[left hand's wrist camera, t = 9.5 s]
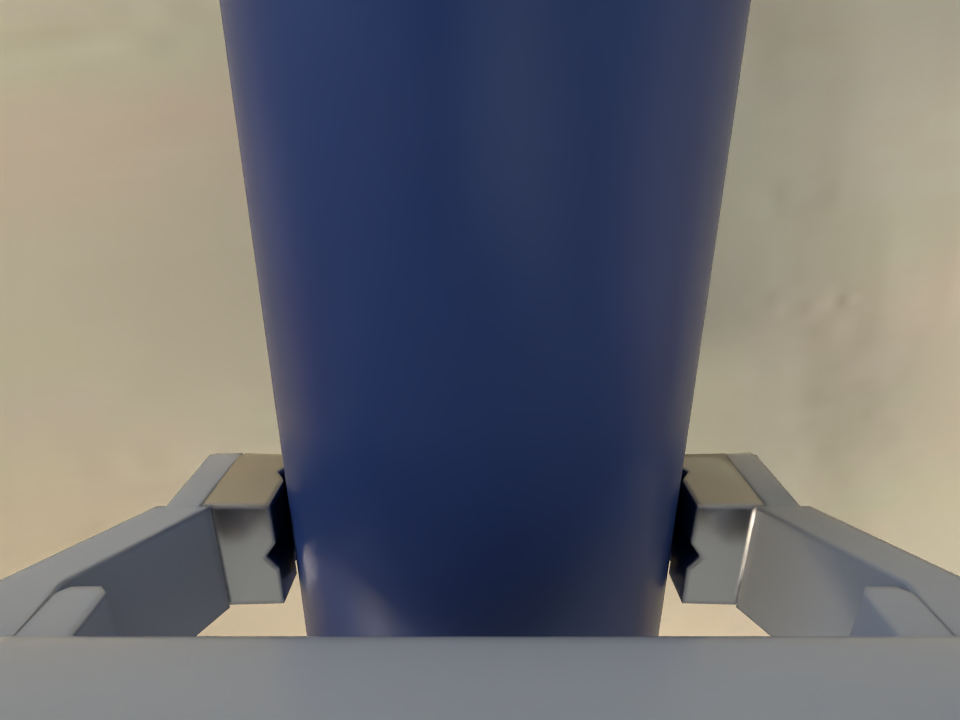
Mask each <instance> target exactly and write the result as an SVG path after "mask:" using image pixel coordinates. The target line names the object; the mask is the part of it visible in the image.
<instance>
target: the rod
mask: <svg viewBox="0 0 960 720" xmlns="http://www.w3.org/2000/svg"><path fill="white" fill-rule="evenodd" d="M219 1H220V8H221V16H222V23H223V30H224V37H225V45H226V52H227V59H228V66H229V74H230V81H231V88H232V95H233V103H234V110H235V117H236V124H237V131H238V139H239V146H240V153H241V160H242V168H243V175H244V182H245V189H246V197H247V204H248V211H249V218H250V226H251V233H252V240H253V247H254V255H255V262H256V269H257V276H258V284H259V291H260V298H261V305H262V312H263V320H264V327H265V334H266V341H267V349H268V356H269V363H270V370H271V378H272V385H273V392H274V399H275V407H276V414H277V421H278V428H279V436H280V443H281V450H282V457H283V465H284V472H285V479H286V486H287V493H288V501H289V508H290V515H291V522H292V530H293V537H294V544H295V551H296V559H297V566H298V573H299V580H300V588H301V595H302V602H303V609H304V617H305V624H306V631H307V636H658V635H659V628H660V621H661V614H662V607H663V600H664V593H665V587H666V580H667V573H668V566H669V559H670V552H671V545H672V538H673V531H674V525H675V518H676V511H677V504H678V497H679V490H680V483H681V476H682V470H683V463H684V456H685V449H686V442H687V435H688V428H689V421H690V414H691V408H692V401H693V394H694V387H695V380H696V373H697V366H698V359H699V353H700V346H701V339H702V332H703V325H704V318H705V311H706V304H707V297H708V291H709V284H710V277H711V270H712V263H713V256H714V249H715V242H716V236H717V229H718V222H719V215H720V208H721V201H722V194H723V187H724V180H725V174H726V167H727V160H728V153H729V146H730V139H731V132H732V125H733V119H734V112H735V105H736V98H737V91H738V84H739V77H740V70H741V63H742V57H743V50H744V43H745V36H746V29H747V22H748V15H749V8H750V2H751V0H219Z"/></svg>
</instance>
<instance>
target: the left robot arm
mask: <svg viewBox="0 0 960 720" xmlns="http://www.w3.org/2000/svg"><path fill="white" fill-rule="evenodd" d="M296 560H297V559H296V551H295V544H294V537H293V530H292V522H291V515H290V508H289V501H288V493H287V486H286V479H285V472H284V465H283V457H282V454H250V453H245V454H243V453H216V454H211V455H209V456H208V457H207V459H206V460H205V461H204V462H203V463H202V465H201V466H200V467H199V468H198V469H197V470H196V472H195V473H194V474H193V475H192V476H191V478H190V479H189V480H188V481H187V482H186V483H185V485H184V486H183V487H182V488H181V489H180V491H179V492H178V493H177V494H176V495H175V497H174V498H173V499H172V500H171V501H170V502H169V504H168V505H167V506H156V507H154V508H152V509H150V510H148V511H146V512H144V513H142V514H139V515H137V516H135V517H133V518H131V519H129V520H127V521H125V522H123V523H120V524H118V525H116V526H114V527H112V528H110V529H108V530H106V531H103V532H101V533H99V534H97V535H95V536H93V537H91V538H89V539H87V540H84V541H82V542H80V543H78V544H76V545H74V546H72V547H70V548H67V549H65V550H63V551H61V552H59V553H57V554H55V555H53V556H51V557H48V558H46V559H44V560H42V561H40V562H38V563H36V564H34V565H31V566H29V567H27V568H25V569H23V570H21V571H19V572H17V573H15V574H12V575H10V576H8V577H6V578H4V579H2V580H0V720H960V577H959V576H957V575H955V574H953V573H951V572H949V571H947V570H945V569H942V568H940V567H938V566H936V565H934V564H932V563H930V562H928V561H925V560H923V559H921V558H919V557H917V556H915V555H913V554H910V553H908V552H906V551H904V550H902V549H900V548H898V547H896V546H893V545H891V544H889V543H887V542H885V541H883V540H881V539H878V538H876V537H874V536H872V535H870V534H868V533H866V532H864V531H861V530H859V529H857V528H855V527H853V526H851V525H849V524H847V523H844V522H842V521H840V520H838V519H836V518H834V517H832V516H829V515H827V514H825V513H823V512H821V511H819V510H817V509H815V508H812V507H810V506H800V505H799V504H798V503H797V502H796V501H795V499H794V498H793V497H792V496H791V495H790V494H789V493H788V491H787V490H786V489H785V488H784V487H783V486H782V484H781V483H780V482H779V481H778V480H777V479H776V477H775V476H774V475H773V474H772V473H771V472H770V471H769V469H768V468H767V467H766V466H765V465H764V464H763V462H762V461H761V460H760V459H759V458H758V457H757V455H754V454H752V453H731V454H686V455H685V456H684V463H683V470H682V476H681V483H680V490H679V497H678V504H677V511H676V518H675V525H674V531H673V538H672V545H671V552H670V559H669V560H670V561H671V563H670V570H669V574H670V576H671V579H672V581H673V583H674V585H675V588H676V590H677V592H678V595H679V597H680V599H681V601H682V603H698V604H735V605H737V606H736V607H737V608H738V609H739V610H741V611H742V612H743V613H744V614H745V615H746V616H748V617H749V618H750V619H751V620H752V621H754V622H755V623H756V624H757V625H758V626H759V627H761V628H762V629H763V630H764V631H765V632H767V633H768V634H769V635H770V636H197V635H198V634H199V633H200V632H201V631H202V630H204V629H205V628H206V627H207V626H208V625H210V624H211V623H212V622H213V621H214V620H215V619H217V618H218V617H219V616H220V615H221V614H222V613H224V612H225V611H226V610H227V609H228V608H230V606H229V605H231V604H267V603H284V602H285V600H286V597H287V595H288V592H289V590H290V588H291V585H292V583H293V581H294V578H295V576H296V573H297V572H296V564H295V561H296Z"/></svg>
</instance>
